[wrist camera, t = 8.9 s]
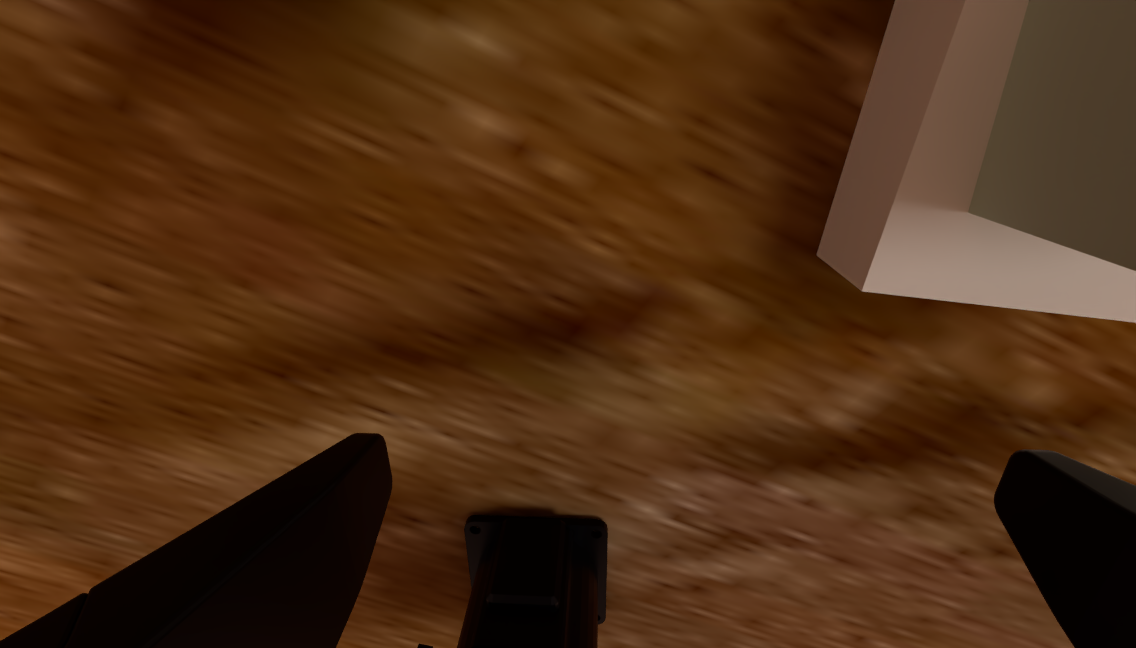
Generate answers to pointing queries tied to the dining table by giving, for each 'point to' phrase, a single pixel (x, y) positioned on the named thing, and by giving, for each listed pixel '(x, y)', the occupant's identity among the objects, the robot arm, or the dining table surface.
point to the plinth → (949, 177)
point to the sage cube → (1068, 131)
